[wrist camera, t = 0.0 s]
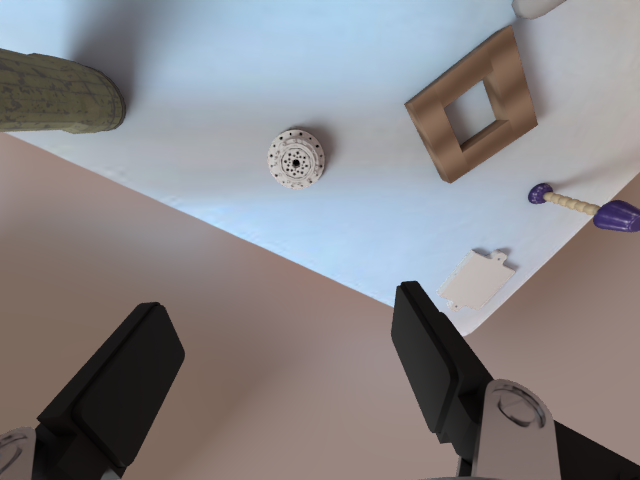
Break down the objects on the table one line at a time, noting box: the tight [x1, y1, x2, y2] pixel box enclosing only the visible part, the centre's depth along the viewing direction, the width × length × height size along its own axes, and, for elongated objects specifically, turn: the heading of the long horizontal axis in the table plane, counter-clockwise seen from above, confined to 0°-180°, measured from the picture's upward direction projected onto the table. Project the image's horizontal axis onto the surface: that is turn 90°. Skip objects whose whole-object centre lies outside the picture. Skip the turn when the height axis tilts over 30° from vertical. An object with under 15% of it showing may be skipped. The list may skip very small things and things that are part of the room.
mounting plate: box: [436, 250, 515, 311], centre depth 57 cm, size 18×13×2 cm
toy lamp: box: [528, 183, 640, 232], centre depth 41 cm, size 5×5×17 cm
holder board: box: [404, 25, 538, 183], centre depth 40 cm, size 16×16×3 cm
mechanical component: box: [268, 130, 325, 189], centre depth 41 cm, size 10×4×10 cm
